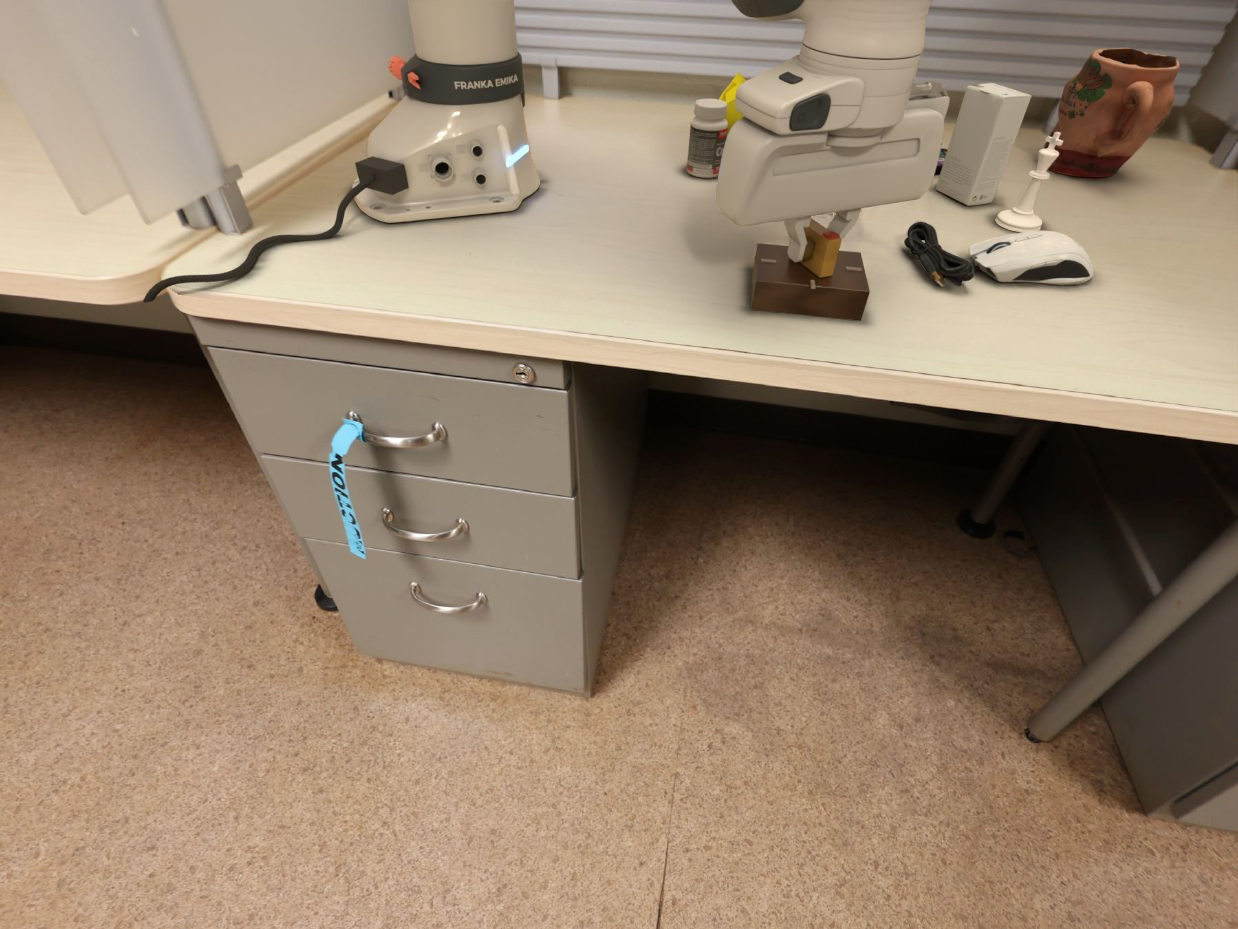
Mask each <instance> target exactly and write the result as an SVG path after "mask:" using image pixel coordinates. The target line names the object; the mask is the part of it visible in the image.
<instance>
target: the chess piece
mask: <svg viewBox="0 0 1238 929" xmlns="http://www.w3.org/2000/svg"><path fill="white" fill-rule="evenodd" d="M1060 134H1061V133H1060V132H1055V133H1054V135H1053V137H1050V135H1049V136H1046V138H1045V141H1044V142H1045V143H1046V142H1049V143H1050V144H1049V147H1048V148H1045V149H1044V148H1041V149H1039V150H1038V152H1037V162H1036V168H1035V169H1032V170H1030V171H1029V172H1028V176H1029V177H1030V178H1032V179H1031V180H1030V183H1029V184H1028V186H1027V188H1026V190H1025V192H1024V193H1023V195H1022V197H1021V198H1020V200H1019V202H1018V204H1017V205H1015V206H1013V207H1012V209H1005V210H1001V211H1000V212H998V213H997V216H996V217H995V219H994V222H995V223H996V224H997V225H998V226H999V227H1001V228H1003V229H1006V230H1008V231H1011V232H1016V233H1021V232H1028V231H1041V228H1042V227H1041V226H1042V225H1043V220H1042V219H1041V218H1040V217H1039V216H1038V215H1037V214H1035V210H1034V206H1035V202H1036V199H1037V196H1038V192H1039V190H1040V187H1041V183H1042V181H1043V180H1049V179H1050V176H1051V175H1050V173H1049V172H1047V170H1049V167H1050V166H1051V164H1052V163H1053V162H1054V161H1055V160H1056V158H1057V157H1058V156H1059V152H1058V151H1056V150H1055V149H1054V148H1055V145H1058V146H1060V145H1062V143H1063V141H1062V140H1059V136H1060Z"/></svg>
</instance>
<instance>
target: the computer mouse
mask: <svg viewBox="0 0 1238 929" xmlns="http://www.w3.org/2000/svg"><path fill="white" fill-rule="evenodd" d="M906 235H907V237H906V238H905V239H904V241H903V243H904V246H905V247H906V248H907V249H908V250H909V252H910V254H911V255H913V256H916V258H917V260H918V261H919V263H920V264H921V266H922V267H923V269H924V270H925V272H926V273H927V275H928V276H929V277H930V278H931V279H932V280H933V281H935V282H936V283H937V284H938V285H939V286H940V287H941V288H942V287H944V286H945V285H946V280H948V281H949V282H950V283H952V284H954V285H956V286H958V287H962V286H963V282H970V281H971V280H973V278H974V277H975V275H974V273H975V270H979V271H983V272H984V273H985V274H987V275H988V276H989V277H991V278H993V279H994V280H996V281H997V282H1000V283H1019V282H1020V283H1036V284H1046V285H1048V284H1049V285H1058V286H1059V285H1060V286H1061V285H1062V286H1069V285H1079V284H1084V283H1086V282H1088V281H1090V280H1091V279H1092V278H1094V276H1095V268H1094V266H1093V262H1092V260H1091V257H1089V255H1088V253H1087V252H1086V250H1085V249H1084V247H1082V245H1081V244H1080V243H1078V242H1077V241H1076V240H1075V239H1073V238H1072V237H1070V236H1068V235H1066V234H1064V233H1062V232H1058V231H1055V230H1039V231H1028V232H1016V233H1008V234H1004V235H999V236H995V237H992V238H989V239H985V240H981V241H979V242H976V243H973V244H970V245H969V247H968V252H969V255H970V256H971V258H972V260H973V261H969V260H967V259H965V258H963V257H961V256H958V255H957V254H953V253H952V252H949V251H947V250H944V249H943V247H942V246H941V245H940V243H939V239H938V234H937V230H936V228H935V227H934V226H933V225H932V224H930V223H927V222H925V221H917V222H914V223H911V225H910V226H909V228H908V229H907V233H906Z"/></svg>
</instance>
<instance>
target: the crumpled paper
mask: <svg viewBox="0 0 1238 929" xmlns="http://www.w3.org/2000/svg"><path fill="white" fill-rule="evenodd" d="M745 81H747V79H745V77H744V76H743V75H742V74H741V73H740V72H739V71H738V72H737V73H736V74H735V76H734V78H733V79H732V81H730V83H729V84H728V85H727V86H726V88H725V89H724V90H723V91H722V93H721V95H720V96H719V99H718V100H722V101H724V102H726V103H728V102H730V101H732V100H734V99H735V98H736V92H737V89H738V87H739V86H740V85H741V84H742V83H743V82H745Z"/></svg>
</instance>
